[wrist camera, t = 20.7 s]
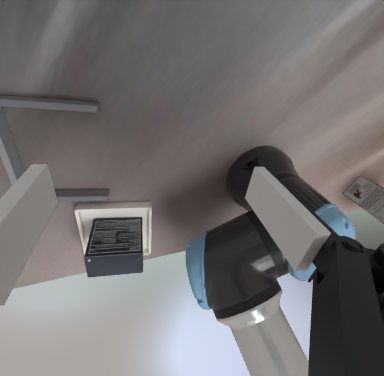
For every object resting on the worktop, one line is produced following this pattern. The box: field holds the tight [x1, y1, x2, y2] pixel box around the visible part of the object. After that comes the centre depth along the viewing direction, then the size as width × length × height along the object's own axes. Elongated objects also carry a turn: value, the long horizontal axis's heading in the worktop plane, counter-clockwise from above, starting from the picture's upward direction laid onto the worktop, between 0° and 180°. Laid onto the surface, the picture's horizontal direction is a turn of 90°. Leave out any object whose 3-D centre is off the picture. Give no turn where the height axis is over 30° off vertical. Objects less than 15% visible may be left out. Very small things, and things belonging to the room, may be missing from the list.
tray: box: [74, 201, 152, 255], centre depth 49 cm, size 15×15×2 cm
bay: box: [0, 95, 109, 201], centre depth 37 cm, size 15×18×3 cm
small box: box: [84, 217, 143, 277], centre depth 45 cm, size 11×6×10 cm, turn 82°
